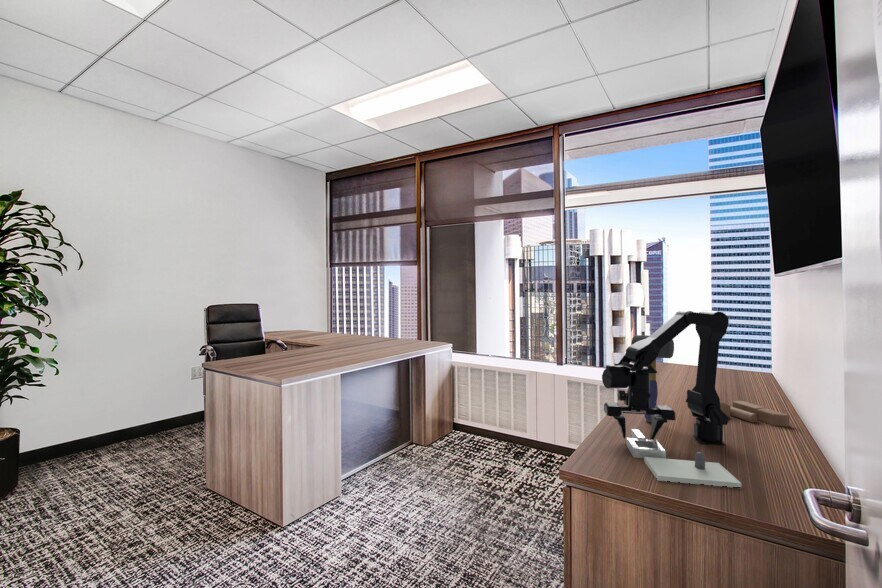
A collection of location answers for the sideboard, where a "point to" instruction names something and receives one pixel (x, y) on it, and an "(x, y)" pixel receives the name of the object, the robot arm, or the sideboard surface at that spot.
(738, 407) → the wooden block set
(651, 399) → the rubber mallet
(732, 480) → the keeper board
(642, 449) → the steel link
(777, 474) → the sideboard surface
